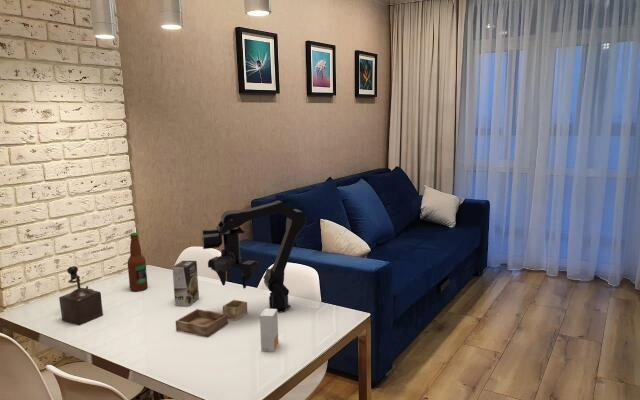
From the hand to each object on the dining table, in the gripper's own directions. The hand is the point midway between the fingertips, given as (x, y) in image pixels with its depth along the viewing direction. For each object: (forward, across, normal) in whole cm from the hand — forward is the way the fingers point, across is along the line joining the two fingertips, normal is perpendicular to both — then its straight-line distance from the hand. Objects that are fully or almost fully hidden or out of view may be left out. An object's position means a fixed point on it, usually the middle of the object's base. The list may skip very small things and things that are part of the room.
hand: (234, 286), depth 178 cm
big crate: (+11, -5, -13) cm, 18 cm away
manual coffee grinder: (+11, -55, -23) cm, 61 cm away
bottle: (+11, -56, +8) cm, 58 cm away
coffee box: (+11, -26, +4) cm, 29 cm away
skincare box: (+12, +25, -17) cm, 32 cm away
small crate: (+11, 0, 0) cm, 11 cm away
